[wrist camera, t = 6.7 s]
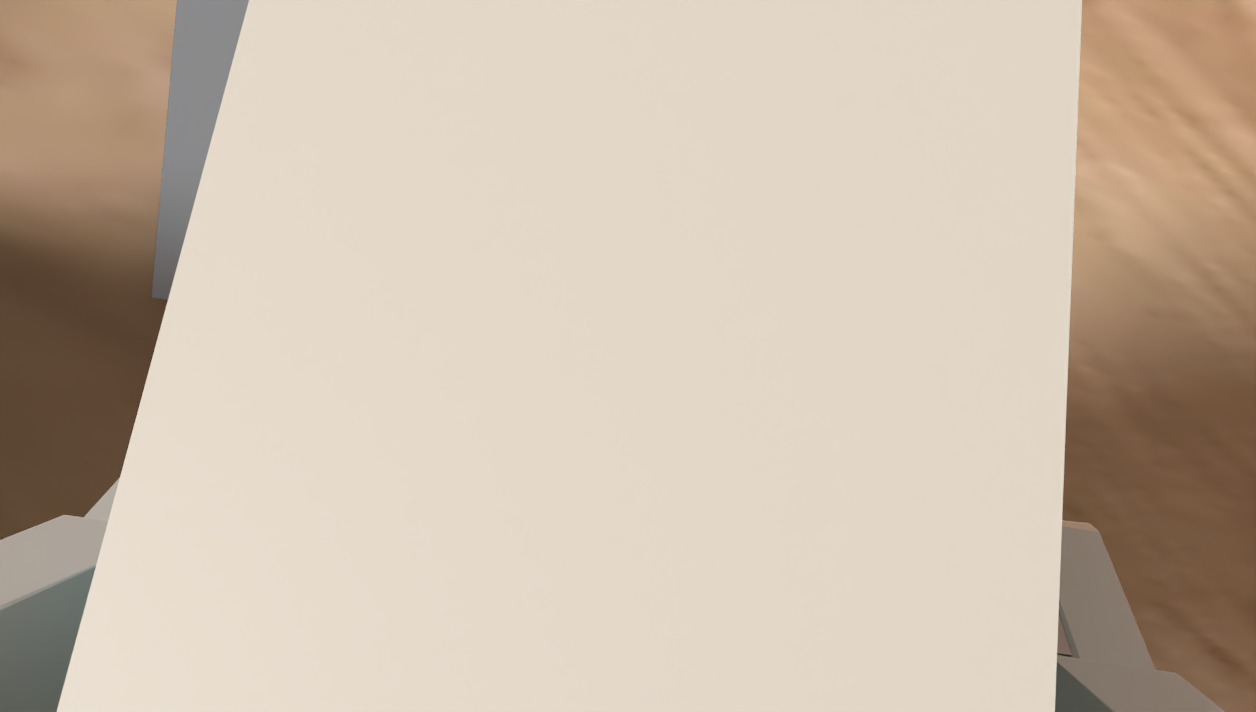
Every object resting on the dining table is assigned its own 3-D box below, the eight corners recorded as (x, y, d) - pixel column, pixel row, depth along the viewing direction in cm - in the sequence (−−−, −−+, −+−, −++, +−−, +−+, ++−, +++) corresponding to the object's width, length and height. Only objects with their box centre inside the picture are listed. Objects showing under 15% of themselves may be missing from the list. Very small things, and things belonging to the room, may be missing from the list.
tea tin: (831, 413, 15) (1081, -13, 6) (780, 950, 13) (1026, 1490, 4) (505, 370, 15) (276, -100, 6) (411, 890, 13) (-97, 1273, 4)
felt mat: (977, -238, 22) (989, -250, 21) (872, 386, 23) (881, 391, 23) (220, -371, 21) (210, -388, 20) (162, 294, 22) (151, 297, 21)
